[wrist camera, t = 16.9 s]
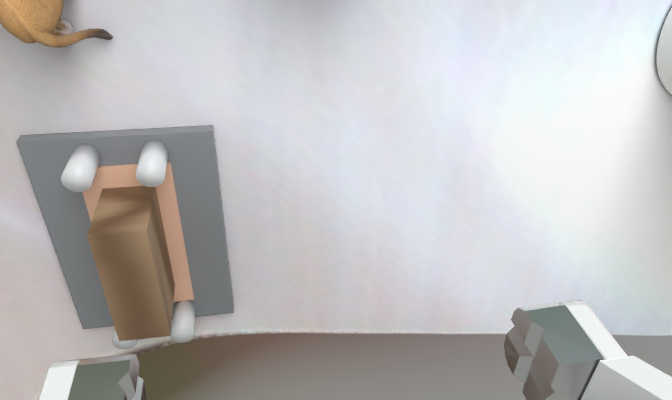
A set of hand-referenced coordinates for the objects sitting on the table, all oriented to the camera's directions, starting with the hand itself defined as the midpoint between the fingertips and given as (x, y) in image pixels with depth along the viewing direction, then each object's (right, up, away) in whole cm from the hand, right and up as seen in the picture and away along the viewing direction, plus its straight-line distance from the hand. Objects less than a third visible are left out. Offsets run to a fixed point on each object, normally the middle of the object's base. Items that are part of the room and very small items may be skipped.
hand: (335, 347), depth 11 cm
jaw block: (-17, 0, +34) cm, 38 cm away
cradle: (-17, 0, +35) cm, 39 cm away
